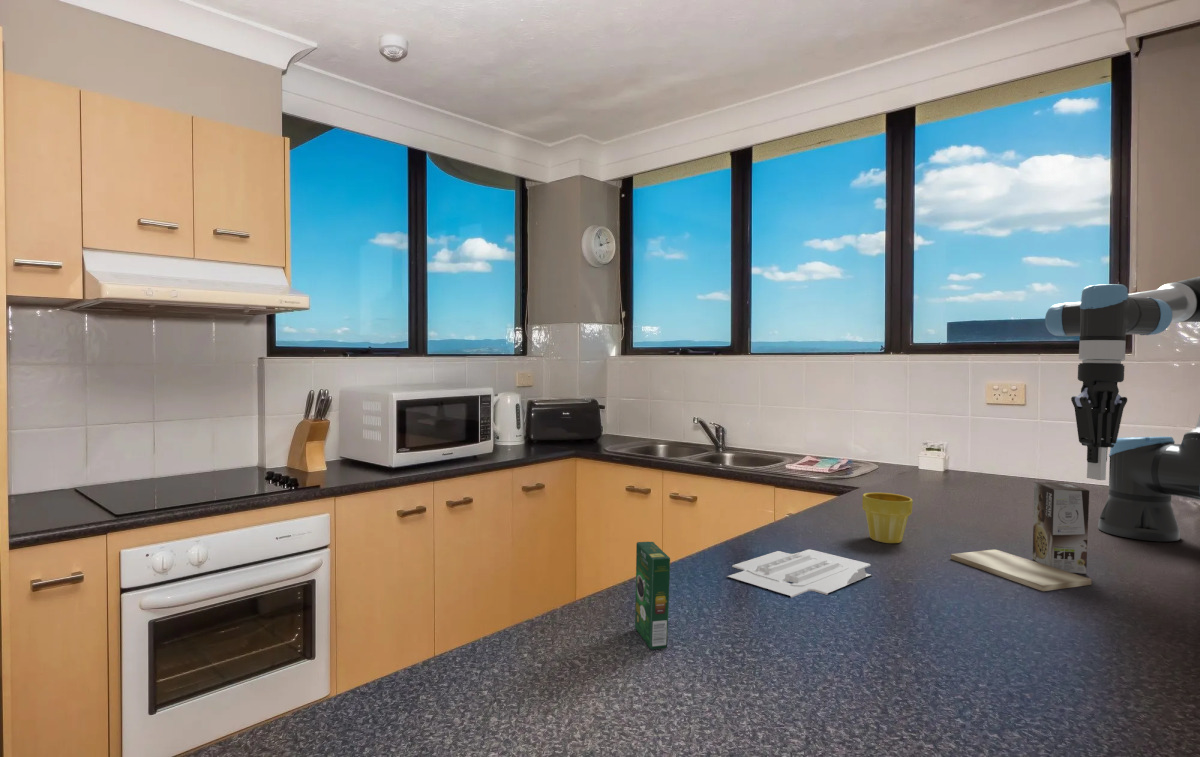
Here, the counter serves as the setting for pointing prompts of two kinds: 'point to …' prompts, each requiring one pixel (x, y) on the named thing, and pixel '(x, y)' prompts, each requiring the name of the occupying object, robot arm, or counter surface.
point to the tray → (801, 572)
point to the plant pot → (886, 515)
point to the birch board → (1021, 570)
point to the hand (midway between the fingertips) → (1096, 478)
